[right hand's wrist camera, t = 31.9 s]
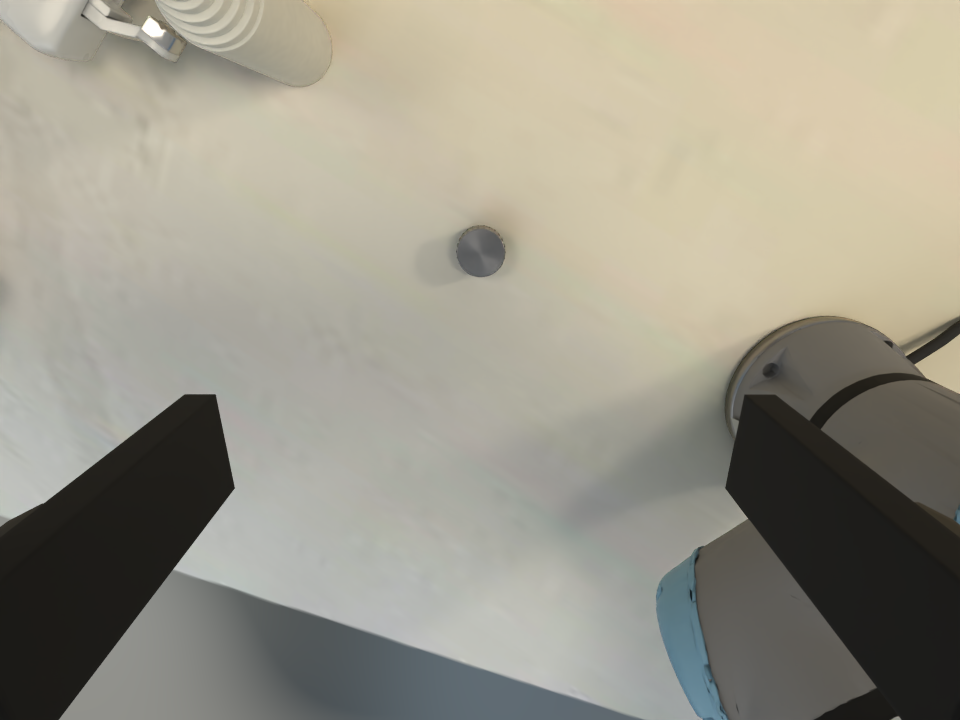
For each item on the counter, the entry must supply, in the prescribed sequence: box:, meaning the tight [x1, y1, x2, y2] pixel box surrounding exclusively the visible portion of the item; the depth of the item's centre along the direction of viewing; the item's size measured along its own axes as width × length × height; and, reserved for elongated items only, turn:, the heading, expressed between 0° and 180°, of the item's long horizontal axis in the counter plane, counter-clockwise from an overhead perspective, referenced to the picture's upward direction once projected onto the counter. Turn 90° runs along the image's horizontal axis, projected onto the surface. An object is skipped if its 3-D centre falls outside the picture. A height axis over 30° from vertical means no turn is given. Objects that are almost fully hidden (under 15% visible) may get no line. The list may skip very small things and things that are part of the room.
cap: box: [456, 225, 505, 277], centre depth 41 cm, size 4×4×2 cm
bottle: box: [155, 0, 332, 87], centre depth 28 cm, size 5×5×19 cm
